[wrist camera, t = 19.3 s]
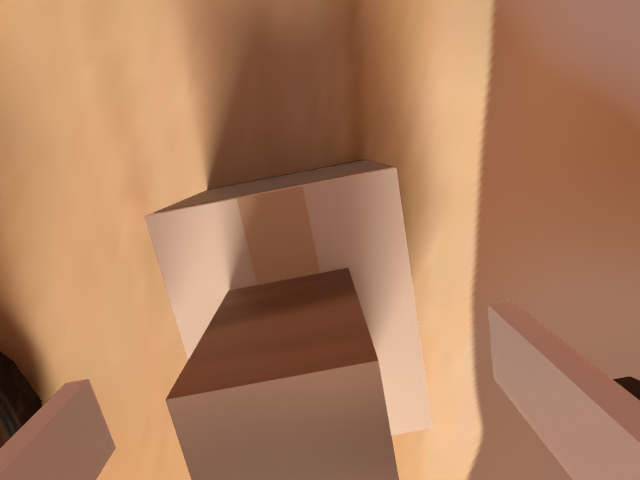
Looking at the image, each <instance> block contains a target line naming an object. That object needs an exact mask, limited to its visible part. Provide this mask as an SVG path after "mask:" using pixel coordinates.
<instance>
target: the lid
mask: <svg viewBox="0 0 640 480" xmlns="http://www.w3.org/2000/svg"><path fill="white" fill-rule="evenodd" d="M145 220H146V223H147V226H148V229H149V233H150V236H151V239H152V243H153V246H154V249H155V253H156V256H157V259H158V262H159V266H160V269H161V272H162V276H163V279H164V282H165V286H166V289H167V292H168V295H169V299H170V302H171V305H172V309H173V312H174V315H175V319H176V322H177V325H178V328H179V332H180V335H181V338H182V342H183V345H184V348H185V352H186V355H187V358H188V360H189V358H190V356H191V355H192V353H193V351H194V349H195V348H196V346H197V344H198V342H199V341H200V339H201V337H202V336H203V334H204V332H205V330H206V329H207V327H208V325H209V323H210V322H211V320H212V318H213V316H214V315H215V313H216V311H217V309H218V308H219V306H220V304H221V303H222V301H223V299H224V297H225V296H226V294H227V292H228V290H233V289H239V288H244V287H249V286H255V285H260V284H265V283H271V282H276V281H281V280H286V279H292V278H297V277H302V276H308V275H313V274H318V273H323V272H329V271H334V270H339V269H345V268H349V271H350V274H351V277H352V280H353V283H354V286H355V290H356V293H357V296H358V299H359V302H360V305H361V308H362V311H363V314H364V317H365V320H366V324H367V327H368V330H369V333H370V336H371V339H372V342H373V345H374V348H375V351H376V354H377V358H378V361H379V367H380V372H381V378H382V384H383V390H384V396H385V402H386V407H387V413H388V419H389V425H390V431H391V436H392V435H398V434H404V433H409V432H415V431H420V430H426V429H431V428H433V426H432V419H431V412H430V404H429V397H428V390H427V383H426V376H425V369H424V362H423V354H422V347H421V340H420V333H419V326H418V319H417V312H416V304H415V297H414V290H413V283H412V276H411V269H410V261H409V254H408V247H407V240H406V233H405V226H404V219H403V211H402V204H401V197H400V190H399V183H398V176H397V169H396V168H395V167H390V168H385V169H380V170H375V171H370V172H365V173H359V174H354V175H349V176H344V177H339V178H334V179H328V180H323V181H318V182H313V183H308V184H303V185H297V186H292V187H287V188H282V189H277V190H272V191H266V192H261V193H256V194H251V195H246V196H241V197H235V198H230V199H225V200H220V201H215V202H210V203H204V204H199V205H194V206H189V207H184V208H179V209H173V210H168V211H163V212H158V213H153V214H149V215H147V216H145Z"/></svg>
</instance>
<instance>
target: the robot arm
mask: <svg viewBox="0 0 640 480" xmlns="http://www.w3.org/2000/svg"><path fill="white" fill-rule="evenodd" d="M488 314H489V327H490V339H491V350H492V362H493V374H494V380H495V381H496V382H497V383H498V385H499V386H500V387H501V389H502V390H503V391H504V392H505V394H506V395H507V396H508V398H509V399H510V400H511V401H512V403H513V404H514V405H515V406H516V408H517V409H518V410H519V412H520V413H521V414H522V415H523V417H524V418H525V419H526V421H527V422H528V423H529V424H530V426H531V427H532V428H533V429H534V430H535V432H536V433H537V434H538V436H539V437H540V438H541V440H542V441H543V442H544V444H545V445H546V446H547V447H548V448H549V450H550V451H551V453H552V454H553V455H554V456H555V458H556V459H557V460H558V461H559V463H560V464H561V465H562V467H563V468H564V469H565V470H566V472H567V473H568V474H569V475H570V477H571V478H572V479H573V480H640V381H639V380H637V379H635V378H632V377H624V378H619V379H612V378H610V377H609V376H608V375H607V374H605V373H604V372H603V371H601V370H600V369H599V368H598V367H596V366H595V365H594V364H592V363H591V362H590V361H589V360H587V359H586V358H585V357H583V356H582V355H581V354H579V353H578V352H577V351H576V350H575V349H573V348H572V347H571V346H569V345H568V344H567V343H565V342H564V341H563V340H562V339H560V338H559V337H558V336H557V335H555V334H554V333H553V332H551V331H550V330H549V329H547V328H546V327H545V326H544V325H543V324H541V323H540V322H538V321H537V320H536V319H534V318H533V317H532V316H531V315H530V314H528V313H527V312H526V311H525V310H523V309H522V308H521V307H519V306H518V305H517V304H516V303H514V302H513V301H512V300H510V301H505V302H499V303H494V304H489V305H488ZM115 448H116V447H115V445H114V442H113V440H112V437H111V435H110V432H109V430H108V427H107V424H106V422H105V419H104V417H103V414H102V412H101V409H100V407H99V404H98V402H97V399H96V397H95V394H94V391H93V389H92V386H91V384H90V381H89V379H86V380H80V381H75V382H70V383H65V384H64V385H63V386H62V387H61V388H60V389H59V390H58V391H57V392H56V393H55V394H54V395H53V396H52V397H51V398H50V399H49V400H48V401H47V402H46V403H45V404H44V405H43V406H42V407H41V408H40V409H39V410H38V411H37V412H36V413H35V414H34V415H33V416H32V417H31V418H30V419H29V420H28V421H27V422H26V423H25V424H24V425H23V426H22V427H21V428H20V429H19V430H18V431H17V432H16V433H15V434H14V435H13V436H12V437H11V438H10V439H9V440H8V441H7V442H6V443H5V444H4V445H3V446H2V447H1V448H0V480H96V478H97V477H98V475H99V474H100V472H101V470H102V469H103V467H104V466H105V464H106V462H107V461H108V459H109V458H110V456H111V455H112V453H113V451H114V450H115Z"/></svg>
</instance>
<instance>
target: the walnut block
mask: <svg viewBox="0 0 640 480" xmlns="http://www.w3.org/2000/svg"><path fill="white" fill-rule="evenodd" d="M166 403H167V406H168V409H169V412H170V415H171V418H172V421H173V424H174V427H175V430H176V433H177V436H178V439H179V443H180V446H181V449H182V452H183V455H184V458H185V461H186V464H187V467H188V470H189V473H190V476H191V479H192V480H399V478H398V472H397V466H396V460H395V454H394V448H393V443H392V437H391V431H390V425H389V419H388V413H387V407H386V402H385V396H384V390H383V384H382V378H381V372H380V367H379V361H378V358H377V354H376V351H375V348H374V345H373V342H372V339H371V336H370V333H369V330H368V327H367V324H366V320H365V317H364V314H363V311H362V308H361V305H360V302H359V299H358V296H357V293H356V290H355V286H354V283H353V280H352V277H351V274H350V271H349V268H345V269H339V270H334V271H329V272H323V273H318V274H313V275H308V276H302V277H297V278H292V279H286V280H281V281H276V282H271V283H265V284H260V285H255V286H249V287H244V288H239V289H233V290H228V292H227V294H226V296H225V297H224V299H223V301H222V303H221V304H220V306H219V308H218V309H217V311H216V313H215V315H214V316H213V318H212V320H211V322H210V323H209V325H208V327H207V329H206V330H205V332H204V334H203V336H202V337H201V339H200V341H199V342H198V344H197V346H196V348H195V349H194V351H193V353H192V355H191V356H190V358H189V360H188V362H187V363H186V365H185V367H184V369H183V370H182V372H181V374H180V375H179V377H178V379H177V381H176V382H175V384H174V386H173V388H172V389H171V391H170V393H169V395H168V396H167V398H166Z"/></svg>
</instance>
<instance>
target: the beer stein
mask: <svg viewBox="0 0 640 480" xmlns="http://www.w3.org/2000/svg"><path fill="white" fill-rule="evenodd" d="M41 407H42V402H41V400H40V399H39V397H38V396H37V395H36V393H35V392H34V390H33V389H32V387H31V386H30V385H29V383H28V382H27V380H26V379H25V377H24V376H23V374H22V373H21V372H20V370H19V369H18V367H17V366H16V364H15V363H14V362H13V361H12V360H10V359H9V358H8V357H6V356H5V355H3V354H2V353H0V448H1V447H2V446H3V445H4V444H5V443H6V442H7V441H8V440H9V439H10V438H11V437H12V436H13V435H14V434H15V433H16V432H17V431H18V430H19V429H20V428H21V427H22V426H23V425H24V424H25V423H26V422H27V421H28V420H29V419H30V418H31V417H32V416H33V415H34V414H35V413H36V412H37V411H38V410H39V409H40V408H41Z"/></svg>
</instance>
